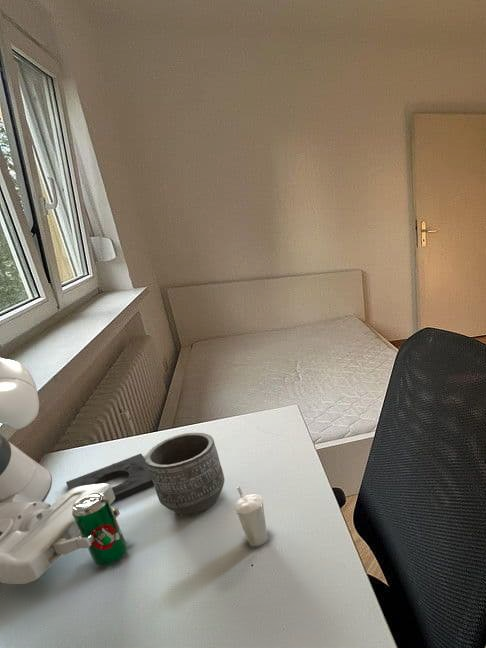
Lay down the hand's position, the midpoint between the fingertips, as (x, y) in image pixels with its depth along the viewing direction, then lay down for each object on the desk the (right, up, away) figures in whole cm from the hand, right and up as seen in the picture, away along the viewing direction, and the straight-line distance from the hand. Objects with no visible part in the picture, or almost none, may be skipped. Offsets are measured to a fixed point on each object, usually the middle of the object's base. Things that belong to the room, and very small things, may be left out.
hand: (104, 526), depth 74 cm
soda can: (0, -6, +3) cm, 7 cm away
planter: (+9, 0, +15) cm, 18 cm away
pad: (-13, +2, +22) cm, 26 cm away
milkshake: (+24, -4, +4) cm, 25 cm away
